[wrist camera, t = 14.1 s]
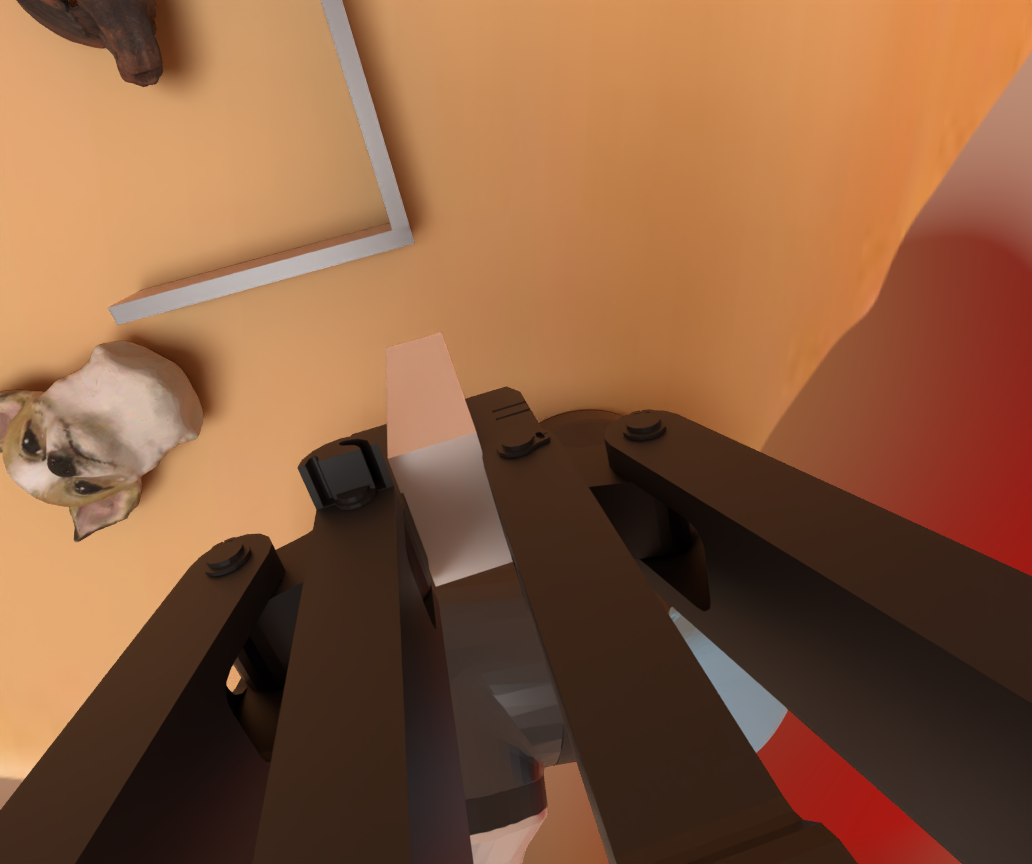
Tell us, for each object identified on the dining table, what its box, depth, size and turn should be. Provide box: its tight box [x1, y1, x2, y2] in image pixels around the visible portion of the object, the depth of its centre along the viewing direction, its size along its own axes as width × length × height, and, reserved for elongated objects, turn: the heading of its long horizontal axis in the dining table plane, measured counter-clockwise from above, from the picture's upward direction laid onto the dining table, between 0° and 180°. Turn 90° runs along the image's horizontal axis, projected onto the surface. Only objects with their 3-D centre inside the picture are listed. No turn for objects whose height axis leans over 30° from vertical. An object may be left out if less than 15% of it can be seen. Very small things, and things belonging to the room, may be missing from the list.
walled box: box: [108, 0, 415, 325], centre depth 31 cm, size 24×17×5 cm
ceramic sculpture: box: [0, 341, 204, 543], centre depth 37 cm, size 11×9×15 cm
